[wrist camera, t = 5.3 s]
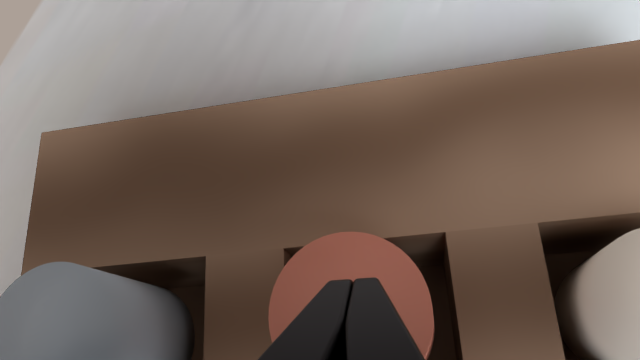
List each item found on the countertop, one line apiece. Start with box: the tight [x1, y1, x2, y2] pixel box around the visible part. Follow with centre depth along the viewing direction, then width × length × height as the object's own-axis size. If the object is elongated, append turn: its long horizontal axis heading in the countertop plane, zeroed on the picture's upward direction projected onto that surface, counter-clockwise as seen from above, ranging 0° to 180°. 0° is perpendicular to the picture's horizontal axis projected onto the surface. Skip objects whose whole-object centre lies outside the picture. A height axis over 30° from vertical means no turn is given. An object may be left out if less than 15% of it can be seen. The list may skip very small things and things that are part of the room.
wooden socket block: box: [21, 40, 640, 360], centre depth 17 cm, size 10×22×6 cm, turn 93°
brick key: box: [268, 232, 435, 360], centre depth 13 cm, size 3×3×4 cm
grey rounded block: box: [0, 262, 195, 360], centre depth 14 cm, size 3×3×4 cm
